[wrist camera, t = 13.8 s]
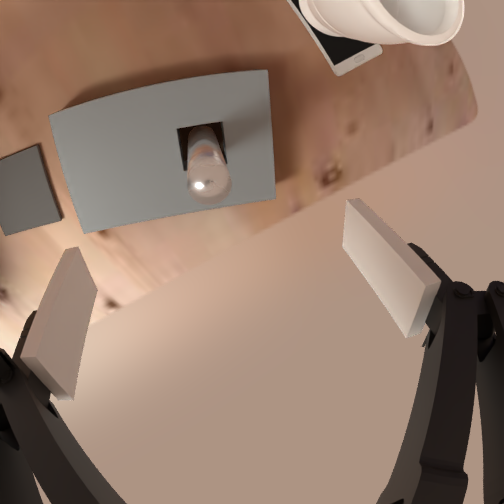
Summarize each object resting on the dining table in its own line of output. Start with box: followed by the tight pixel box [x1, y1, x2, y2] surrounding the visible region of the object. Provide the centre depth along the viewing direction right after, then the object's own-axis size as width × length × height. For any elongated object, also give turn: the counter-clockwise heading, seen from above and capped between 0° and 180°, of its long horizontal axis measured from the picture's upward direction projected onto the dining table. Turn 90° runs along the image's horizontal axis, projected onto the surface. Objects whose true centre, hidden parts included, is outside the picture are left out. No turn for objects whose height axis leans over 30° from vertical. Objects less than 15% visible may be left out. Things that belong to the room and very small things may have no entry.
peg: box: [187, 125, 232, 205], centre depth 26 cm, size 3×3×14 cm
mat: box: [0, 145, 62, 236], centre depth 30 cm, size 10×10×1 cm
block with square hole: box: [49, 69, 276, 234], centre depth 30 cm, size 22×14×4 cm, turn 95°
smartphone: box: [287, 0, 383, 76], centre depth 26 cm, size 8×1×15 cm
